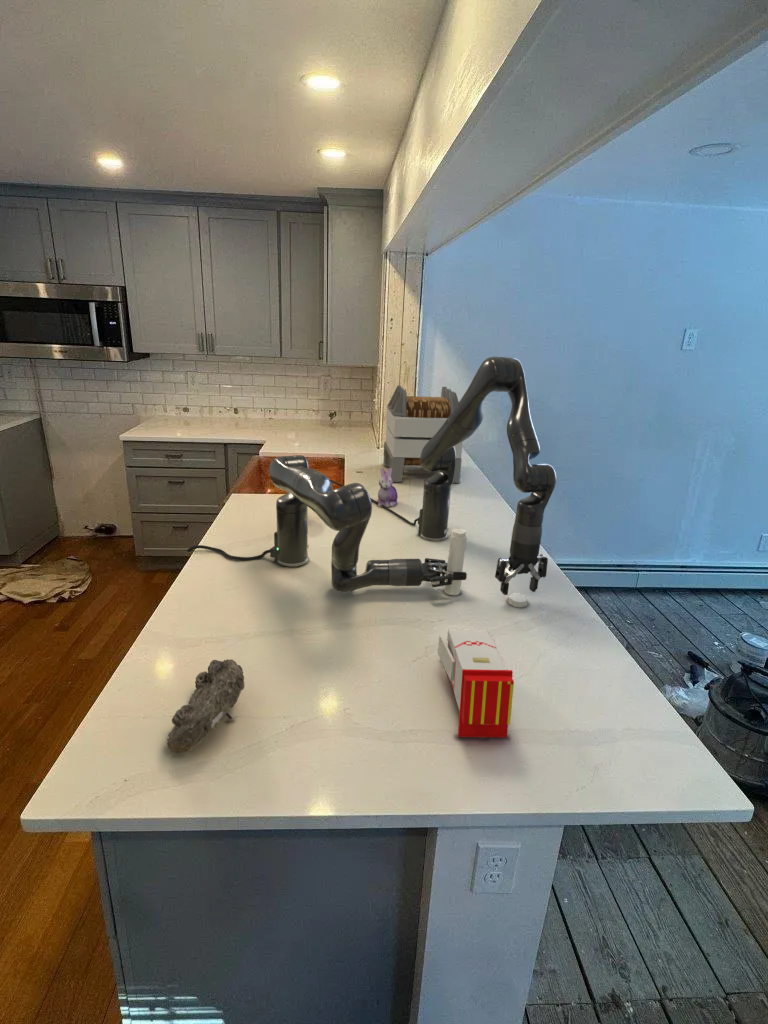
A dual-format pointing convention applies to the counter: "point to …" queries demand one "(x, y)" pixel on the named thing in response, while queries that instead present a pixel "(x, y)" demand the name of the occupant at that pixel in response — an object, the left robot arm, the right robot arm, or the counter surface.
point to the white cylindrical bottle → (456, 559)
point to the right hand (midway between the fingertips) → (518, 592)
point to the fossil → (206, 705)
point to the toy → (478, 682)
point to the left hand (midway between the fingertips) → (463, 571)
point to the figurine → (386, 489)
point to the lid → (517, 600)
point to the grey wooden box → (415, 429)
